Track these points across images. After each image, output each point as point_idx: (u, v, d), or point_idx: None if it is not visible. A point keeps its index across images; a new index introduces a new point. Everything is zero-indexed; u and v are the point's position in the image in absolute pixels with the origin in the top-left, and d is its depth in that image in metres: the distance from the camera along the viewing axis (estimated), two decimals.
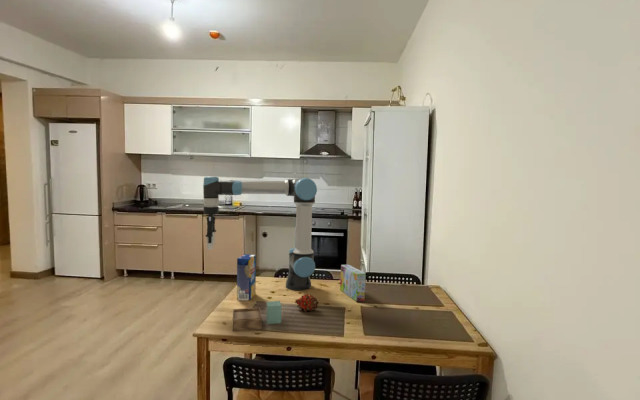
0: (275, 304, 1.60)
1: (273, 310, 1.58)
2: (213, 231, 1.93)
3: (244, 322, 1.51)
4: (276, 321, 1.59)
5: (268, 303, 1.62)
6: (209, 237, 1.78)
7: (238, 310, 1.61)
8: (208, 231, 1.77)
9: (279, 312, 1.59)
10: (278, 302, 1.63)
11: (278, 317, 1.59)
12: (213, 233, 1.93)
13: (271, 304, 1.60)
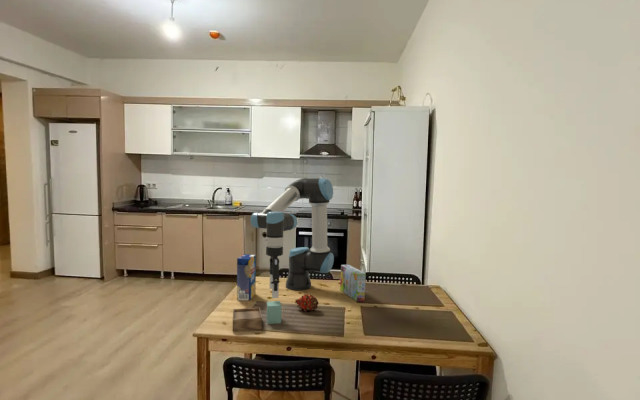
0: (275, 304, 1.59)
1: (273, 310, 1.58)
2: None
3: (244, 322, 1.51)
4: (276, 321, 1.59)
5: (268, 303, 1.62)
6: (275, 284, 1.52)
7: (238, 310, 1.61)
8: (275, 277, 1.51)
9: (279, 312, 1.59)
10: (278, 302, 1.63)
11: (278, 317, 1.59)
12: None
13: (271, 304, 1.60)
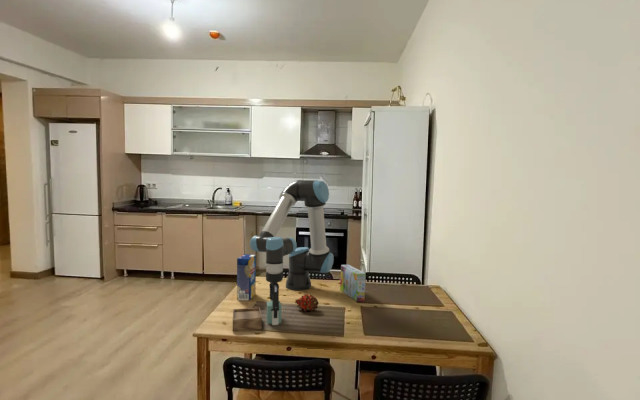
0: None
1: None
2: None
3: (244, 322, 1.51)
4: None
5: (268, 303, 1.62)
6: (275, 311, 1.53)
7: (238, 310, 1.61)
8: (274, 305, 1.52)
9: (279, 312, 1.59)
10: None
11: (278, 317, 1.59)
12: None
13: (271, 304, 1.60)
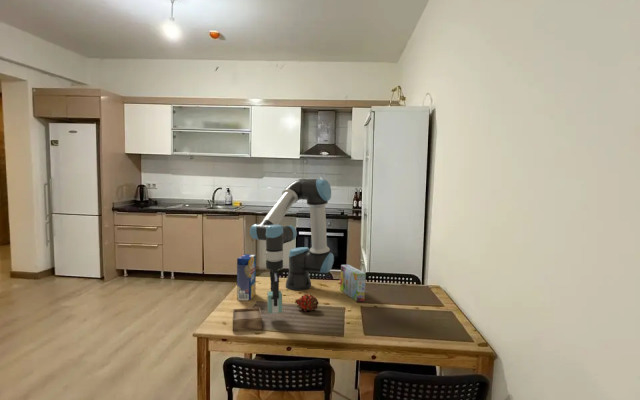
0: None
1: None
2: None
3: (244, 322, 1.51)
4: None
5: (269, 292, 1.62)
6: (275, 300, 1.56)
7: (238, 310, 1.61)
8: (274, 294, 1.54)
9: (280, 301, 1.59)
10: (279, 292, 1.63)
11: None
12: None
13: (272, 293, 1.60)
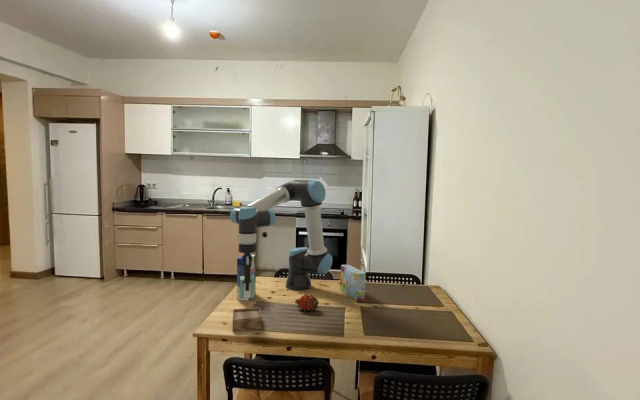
0: None
1: None
2: None
3: (244, 322, 1.51)
4: None
5: (241, 277, 1.56)
6: (247, 284, 1.51)
7: (238, 310, 1.61)
8: (246, 278, 1.49)
9: (252, 286, 1.53)
10: (252, 276, 1.57)
11: (250, 292, 1.53)
12: None
13: None
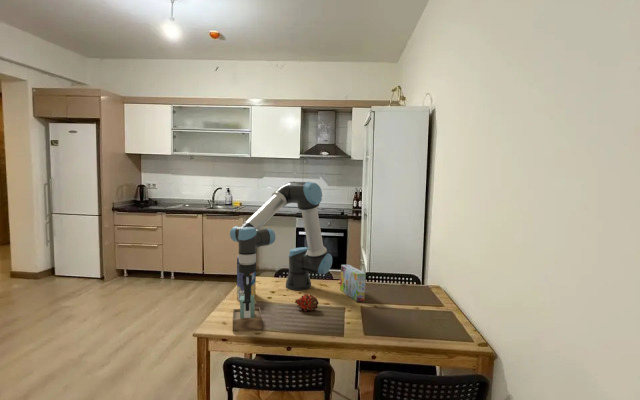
0: None
1: None
2: None
3: (244, 322, 1.51)
4: None
5: (241, 297, 1.57)
6: (247, 304, 1.50)
7: (238, 310, 1.61)
8: (246, 298, 1.48)
9: (252, 306, 1.54)
10: (252, 296, 1.58)
11: (251, 312, 1.54)
12: None
13: None
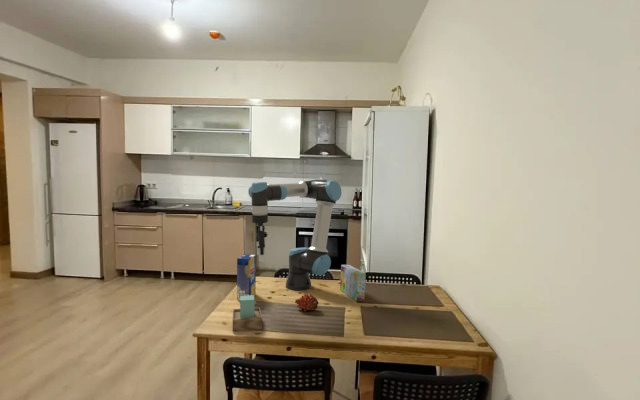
0: (248, 298, 1.55)
1: (245, 304, 1.53)
2: None
3: (244, 322, 1.51)
4: (249, 316, 1.54)
5: (241, 297, 1.57)
6: (261, 248, 1.64)
7: (238, 310, 1.61)
8: (260, 242, 1.63)
9: (252, 306, 1.54)
10: (252, 296, 1.58)
11: (251, 312, 1.54)
12: None
13: (244, 298, 1.55)
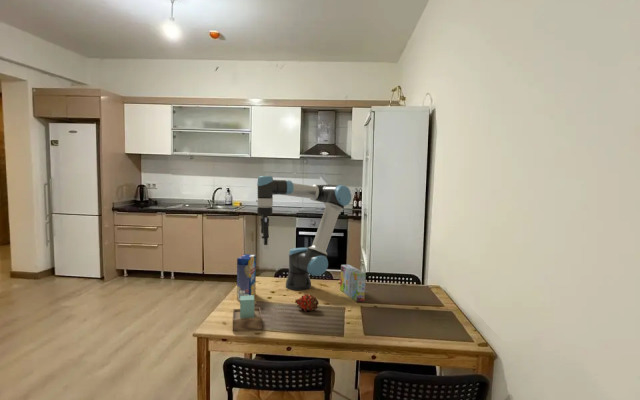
0: (248, 298, 1.55)
1: (245, 304, 1.53)
2: None
3: (244, 322, 1.51)
4: (249, 316, 1.54)
5: (241, 297, 1.57)
6: (265, 239, 1.72)
7: (238, 310, 1.61)
8: (265, 232, 1.71)
9: (252, 306, 1.54)
10: (252, 296, 1.58)
11: (251, 312, 1.54)
12: None
13: (244, 298, 1.55)
